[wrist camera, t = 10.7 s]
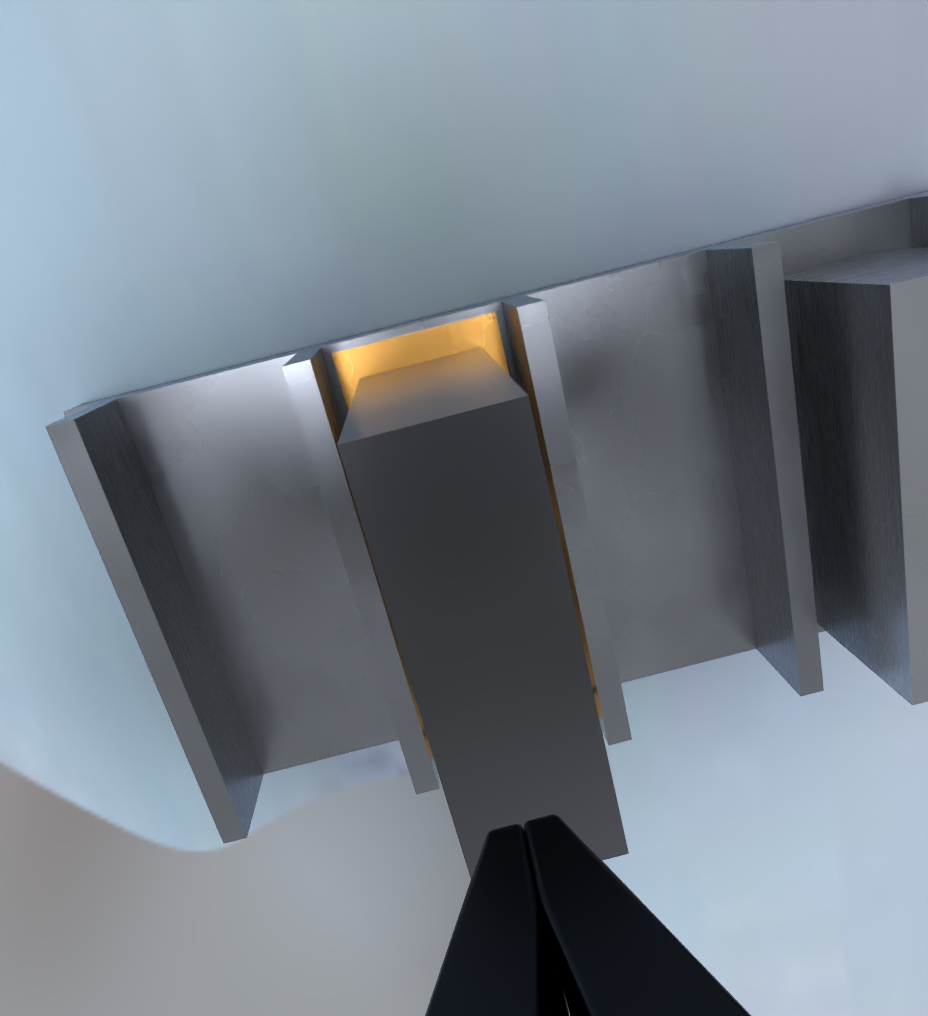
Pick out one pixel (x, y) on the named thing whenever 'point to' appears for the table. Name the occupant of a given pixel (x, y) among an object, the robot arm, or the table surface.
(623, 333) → the rack
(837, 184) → the table surface
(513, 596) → the blanking panel
